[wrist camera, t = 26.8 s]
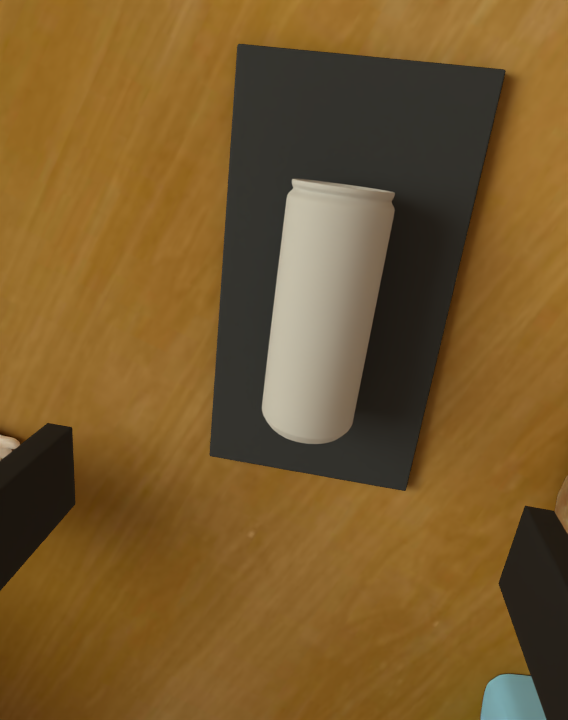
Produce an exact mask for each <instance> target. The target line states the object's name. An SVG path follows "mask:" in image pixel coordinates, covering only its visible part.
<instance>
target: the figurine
mask: <svg viewBox="0 0 568 720" xmlns="http://www.w3.org/2000/svg"><path fill="white" fill-rule="evenodd" d="M18 446H20V442H19V441H18V440H17V439H15V438H12V437H7V436H3V435H0V461H1V458H2V459H3V458H4V457H6V456H7V455H8V454H9V453H11V452H12V450H11V449H16V448H17V447H18Z"/></svg>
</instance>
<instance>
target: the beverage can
mask: <svg viewBox="0 0 568 720" xmlns="http://www.w3.org/2000/svg"><path fill="white" fill-rule="evenodd" d="M292 185H293V189H292V190H291V191H290V192H289V193H288V195H287V200H286V208H285V216H284V224H283V232H282V241H281V249H280V257H279V265H278V274H277V282H276V290H275V298H274V307H273V315H272V323H271V332H270V340H269V349H268V357H267V366H266V375H265V384H264V393H263V401H262V412H263V415H264V417H265V419H266V421H267V422H268V424H269V425H270V426H271V428H272V429H273V430H274V431H276V432H277V433H278V434H280V435H281V436H283V437H285V438H287V439H290V440H293V441H295V442H300V443H306V444H323V443H328V442H332V441H335V440H336V439H338V438H340V437H341V436H343V435H344V434H345V433H347V432H348V431H349V429H350V428H351V426H352V423H353V418H354V413H355V408H356V403H357V398H358V393H359V388H360V383H361V378H362V373H363V368H364V363H365V358H366V353H367V348H368V343H369V338H370V333H371V328H372V323H373V318H374V313H375V308H376V303H377V297H378V292H379V287H380V282H381V277H382V272H383V267H384V262H385V257H386V252H387V247H388V242H389V237H390V232H391V227H392V222H393V217H394V211H395V209H394V206H393V205H392V200H393V198H394V196H395V193H394V192H391V191H385V190H379V189H373V188H367V187H360V186H353V185H346V184H338V183H331V182H323V181H315V180H306V179H292Z"/></svg>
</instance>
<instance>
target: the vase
mask: <svg viewBox="0 0 568 720" xmlns="http://www.w3.org/2000/svg"><path fill="white" fill-rule="evenodd" d="M480 720H546V717H545V714H544V711H543V708H542V706H541V703H540V700H539V697H538V694H537V691H536V688H535V686H534V683H533V680H532V677H531V676H527V675H516V674H503V675H499V676H497V677H495V678H494V679H492V680H491V681H490V682H489V683H488V684H487V686H486V689H485V693H484V698H483V704H482V711H481V718H480Z"/></svg>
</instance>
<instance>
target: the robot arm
mask: <svg viewBox="0 0 568 720" xmlns="http://www.w3.org/2000/svg"><path fill="white" fill-rule="evenodd" d="M74 505H75V484H74V460H73V437H72V427H67V426H62V425H56V424H50V423H47V424H46V425H45V426H44V427H42V428H41V429H40V430H38V431H37V432H36V433H35V434H33V435H32V436H31V437H30V438H28V439H27V440H26V441H25V442H23V443H22V444H21V445H20V446H18V447H17V448H16V449H14V450H13V451H12V452H11V453H9V454H8V455H7V456H6V457H4V458H3V459H2V460H1V461H0V590H1V589H2V588H3V587H4V586H5V585H6V584H7V582H8V581H9V580H10V579H11V578H12V577H13V575H14V574H15V573H16V572H17V571H18V570H19V569H20V567H21V566H22V565H23V564H24V563H25V562H26V560H27V559H28V558H29V557H30V556H31V555H32V554H33V552H34V551H35V550H36V549H37V548H38V547H39V545H40V544H41V543H42V542H43V541H44V540H45V538H46V537H47V536H48V535H49V534H50V533H51V532H52V530H53V529H54V528H55V527H56V526H57V525H58V523H59V522H60V521H61V520H62V519H63V518H64V517H65V515H66V514H67V513H68V512H69V511H70V510H71V508H72V507H73V506H74ZM499 586H500V589H501V592H502V594H503V597H504V600H505V603H506V606H507V609H508V612H509V614H510V617H511V620H512V623H513V626H514V629H515V631H516V634H517V637H518V640H519V643H520V646H521V649H522V651H523V654H524V657H525V660H526V663H527V666H528V669H529V671H530V674H531V677H532V680H533V683H534V686H535V688H536V691H537V694H538V697H539V700H540V703H541V706H542V708H543V711H544V714H545V717H546V720H568V534H567V532H566V530H565V529H564V527H563V525H562V524H561V522H560V520H559V519H558V517H557V515H556V514H555V512H554V511H552V510H546V509H540V508H534V507H529V506H525V508H524V511H523V514H522V516H521V519H520V522H519V525H518V528H517V531H516V534H515V537H514V540H513V543H512V546H511V549H510V551H509V554H508V557H507V560H506V563H505V566H504V569H503V572H502V575H501V578H500V581H499Z"/></svg>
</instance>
